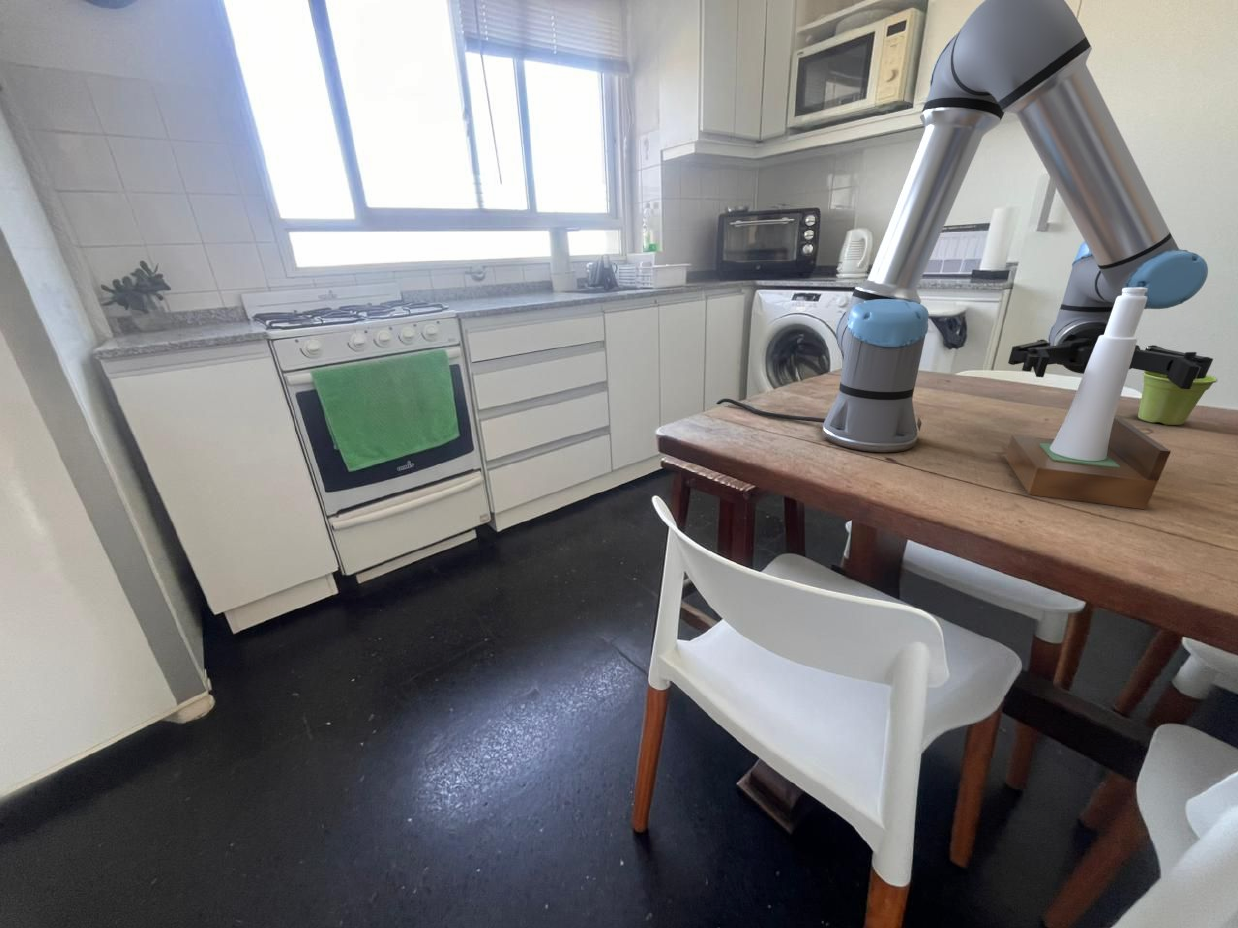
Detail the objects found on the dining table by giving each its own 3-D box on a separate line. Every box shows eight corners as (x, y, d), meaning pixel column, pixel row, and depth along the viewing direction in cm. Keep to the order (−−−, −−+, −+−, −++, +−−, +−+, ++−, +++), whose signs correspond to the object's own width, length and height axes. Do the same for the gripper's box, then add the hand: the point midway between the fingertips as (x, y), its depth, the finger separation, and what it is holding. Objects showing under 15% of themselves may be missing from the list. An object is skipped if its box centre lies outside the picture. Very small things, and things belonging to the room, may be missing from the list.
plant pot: (1213, 428, 88) (1235, 380, 85) (1159, 429, 88) (1179, 382, 85) (1161, 412, 97) (1179, 369, 93) (1112, 414, 97) (1128, 370, 94)
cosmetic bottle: (1118, 459, 67) (1185, 288, 58) (1081, 464, 66) (1143, 290, 57) (1072, 444, 72) (1127, 285, 64) (1038, 448, 71) (1089, 287, 63)
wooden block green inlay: (1028, 494, 67) (1046, 439, 64) (1004, 458, 79) (1019, 410, 76) (1145, 509, 62) (1171, 451, 59) (1102, 468, 74) (1121, 417, 71)
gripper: (1191, 377, 73) (1247, 415, 57) (985, 362, 86) (983, 389, 70) (1213, 325, 70) (1279, 349, 54) (996, 318, 83) (997, 335, 67)
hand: (1112, 372), depth 62 cm, fingers open, 13 cm apart
